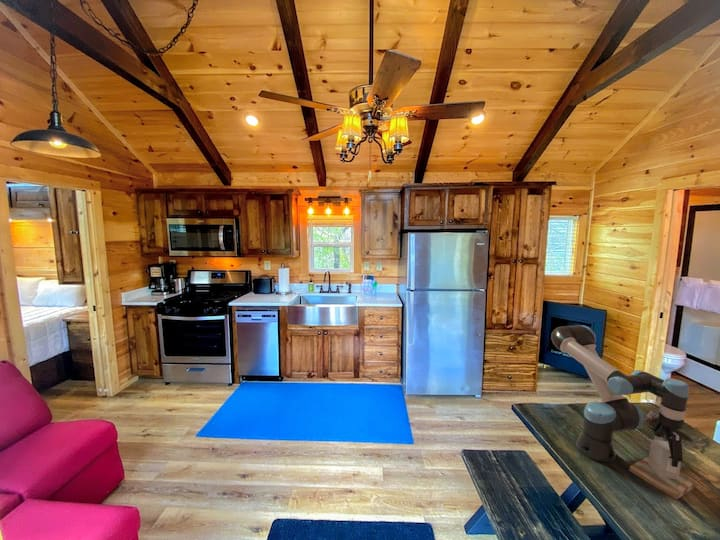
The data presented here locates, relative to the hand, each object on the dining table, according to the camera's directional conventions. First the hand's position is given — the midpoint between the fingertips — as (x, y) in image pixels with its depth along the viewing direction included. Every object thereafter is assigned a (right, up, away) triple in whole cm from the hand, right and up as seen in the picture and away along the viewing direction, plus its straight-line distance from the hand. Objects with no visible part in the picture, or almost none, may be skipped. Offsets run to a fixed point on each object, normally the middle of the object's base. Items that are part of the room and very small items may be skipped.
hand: (663, 460), depth 133 cm
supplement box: (0, -6, +1) cm, 6 cm away
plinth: (0, -8, +1) cm, 9 cm away
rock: (+32, -4, +35) cm, 47 cm away
